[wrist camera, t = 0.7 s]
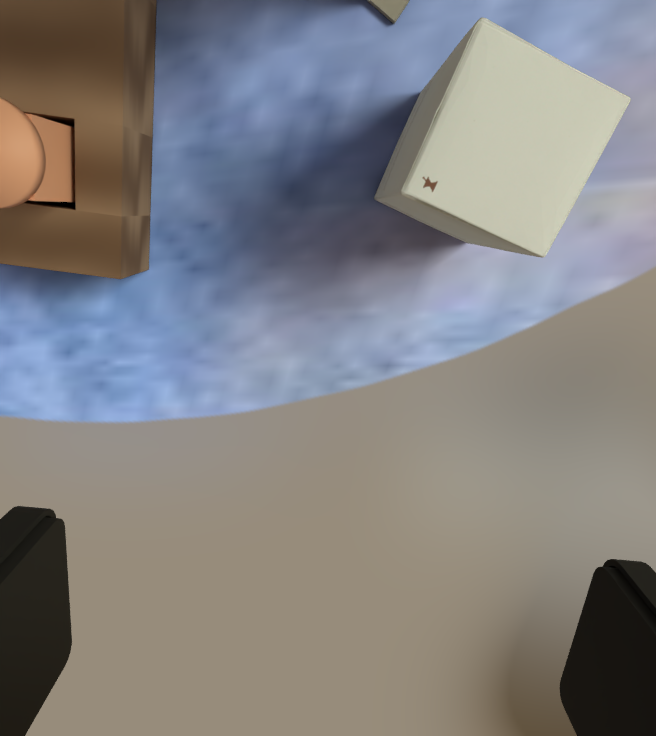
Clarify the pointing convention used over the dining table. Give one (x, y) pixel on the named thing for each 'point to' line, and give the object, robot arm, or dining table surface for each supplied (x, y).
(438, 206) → the supplement box
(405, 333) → the dining table surface
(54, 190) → the terracotta plug
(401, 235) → the dining table surface
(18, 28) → the plug block
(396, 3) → the skyscraper
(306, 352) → the dining table surface
